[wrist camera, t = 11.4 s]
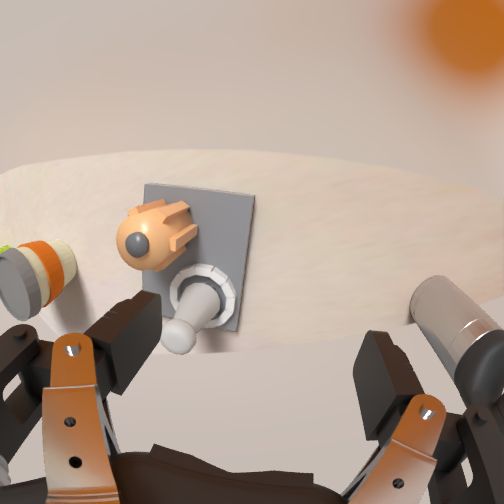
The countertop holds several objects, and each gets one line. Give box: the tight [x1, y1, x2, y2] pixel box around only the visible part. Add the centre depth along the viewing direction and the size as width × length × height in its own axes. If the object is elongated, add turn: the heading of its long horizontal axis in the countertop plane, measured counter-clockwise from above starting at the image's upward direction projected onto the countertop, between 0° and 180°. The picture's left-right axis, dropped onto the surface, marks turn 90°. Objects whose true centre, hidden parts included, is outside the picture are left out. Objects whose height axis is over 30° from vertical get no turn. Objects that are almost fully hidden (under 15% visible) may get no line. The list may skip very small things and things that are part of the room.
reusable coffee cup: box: [0, 239, 77, 321], centre depth 40 cm, size 13×13×15 cm
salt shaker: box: [160, 282, 220, 355], centre depth 36 cm, size 6×6×13 cm
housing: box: [116, 183, 255, 332], centre depth 36 cm, size 16×21×13 cm
